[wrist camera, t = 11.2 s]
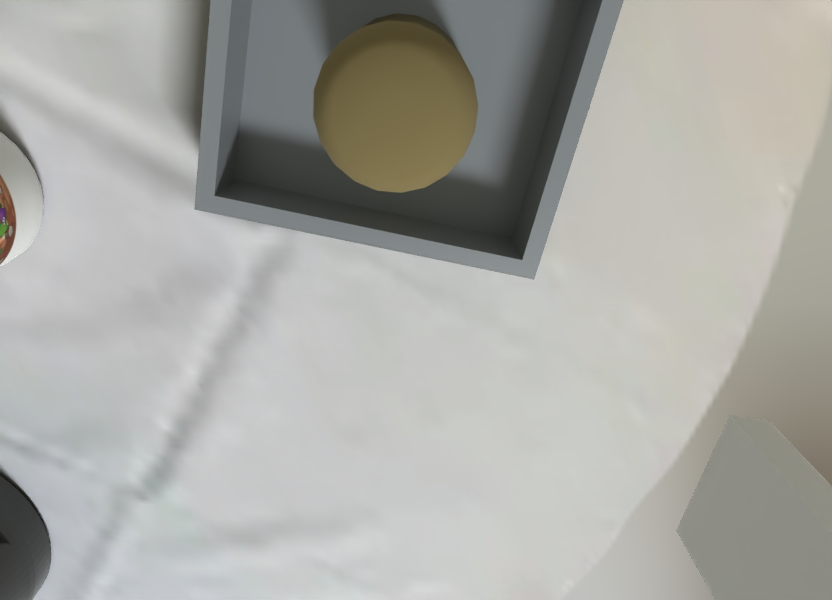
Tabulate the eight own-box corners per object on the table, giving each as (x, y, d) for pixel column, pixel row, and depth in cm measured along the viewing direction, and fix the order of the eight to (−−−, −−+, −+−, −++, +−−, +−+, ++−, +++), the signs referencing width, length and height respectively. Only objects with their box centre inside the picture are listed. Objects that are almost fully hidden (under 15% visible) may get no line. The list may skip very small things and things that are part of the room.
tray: (220, 188, 30) (194, 209, 27) (250, -131, 25) (222, -158, 22) (519, 250, 32) (533, 279, 28) (608, -38, 27) (639, -49, 23)
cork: (468, 148, 29) (499, 211, 19) (342, 157, 29) (305, 223, 19) (464, 8, 27) (496, -7, 16) (326, 18, 27) (274, 10, 17)
